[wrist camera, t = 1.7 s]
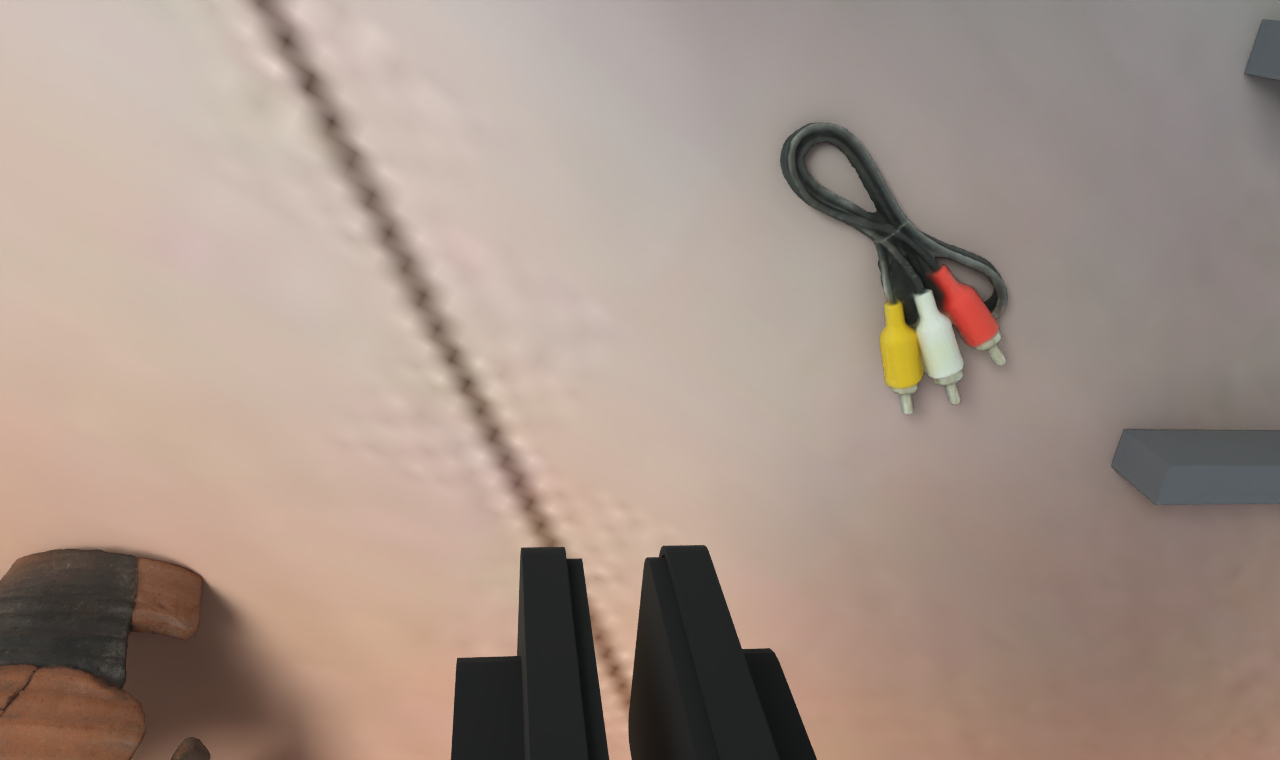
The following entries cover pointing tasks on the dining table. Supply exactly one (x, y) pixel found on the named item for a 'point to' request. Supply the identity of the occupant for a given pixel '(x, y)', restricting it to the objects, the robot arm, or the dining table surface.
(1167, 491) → the dock
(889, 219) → the composite cable
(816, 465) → the dining table surface
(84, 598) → the pottery mug
